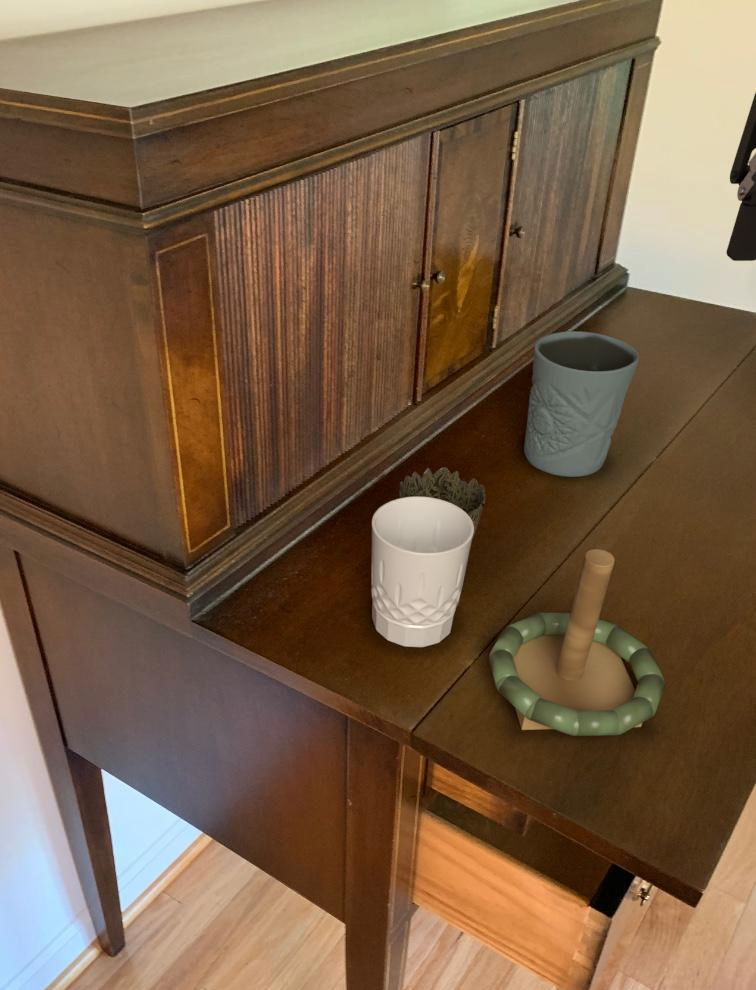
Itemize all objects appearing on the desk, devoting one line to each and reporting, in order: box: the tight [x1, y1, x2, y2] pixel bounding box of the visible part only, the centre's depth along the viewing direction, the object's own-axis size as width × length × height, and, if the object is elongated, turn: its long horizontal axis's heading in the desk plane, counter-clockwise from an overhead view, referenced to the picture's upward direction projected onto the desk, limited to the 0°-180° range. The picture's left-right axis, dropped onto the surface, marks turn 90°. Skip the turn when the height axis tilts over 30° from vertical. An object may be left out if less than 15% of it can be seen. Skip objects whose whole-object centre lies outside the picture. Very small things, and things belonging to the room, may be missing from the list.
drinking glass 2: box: [523, 330, 640, 478], centre depth 95 cm, size 10×10×12 cm
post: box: [514, 548, 643, 731], centre depth 68 cm, size 9×9×12 cm
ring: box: [488, 611, 666, 737], centre depth 69 cm, size 13×13×2 cm
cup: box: [398, 466, 487, 541], centre depth 81 cm, size 8×7×8 cm
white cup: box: [370, 497, 474, 648], centre depth 74 cm, size 8×8×10 cm
